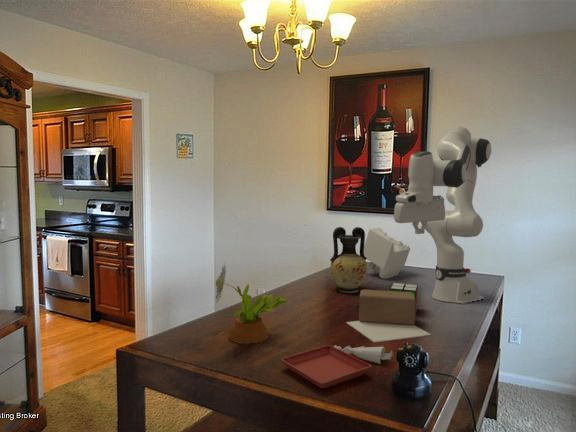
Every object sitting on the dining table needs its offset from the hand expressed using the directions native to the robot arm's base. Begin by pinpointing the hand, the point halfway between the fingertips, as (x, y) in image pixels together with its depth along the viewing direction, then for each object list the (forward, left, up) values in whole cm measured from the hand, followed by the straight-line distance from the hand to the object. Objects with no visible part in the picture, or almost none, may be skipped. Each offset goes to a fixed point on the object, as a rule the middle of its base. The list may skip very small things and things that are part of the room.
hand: (419, 233), depth 167 cm
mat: (+16, +5, -33) cm, 37 cm away
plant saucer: (+51, +30, -34) cm, 68 cm away
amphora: (+5, -47, -33) cm, 58 cm away
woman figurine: (+36, +24, -34) cm, 55 cm away
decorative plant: (+64, -1, -33) cm, 72 cm away
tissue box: (-28, -68, -33) cm, 81 cm away
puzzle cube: (-2, -12, -33) cm, 35 cm away
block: (+2, +2, -28) cm, 28 cm away
